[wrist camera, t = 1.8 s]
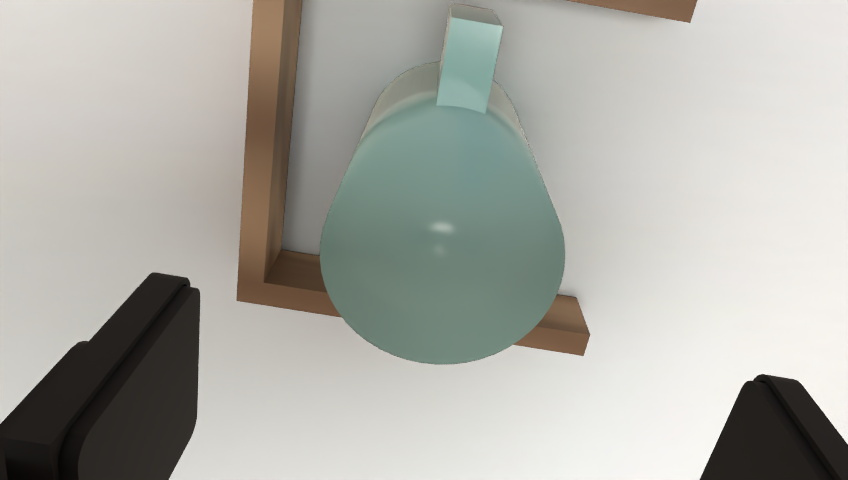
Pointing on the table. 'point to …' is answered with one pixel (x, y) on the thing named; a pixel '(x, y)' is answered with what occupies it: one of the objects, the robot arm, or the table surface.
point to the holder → (268, 166)
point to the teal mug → (444, 212)
